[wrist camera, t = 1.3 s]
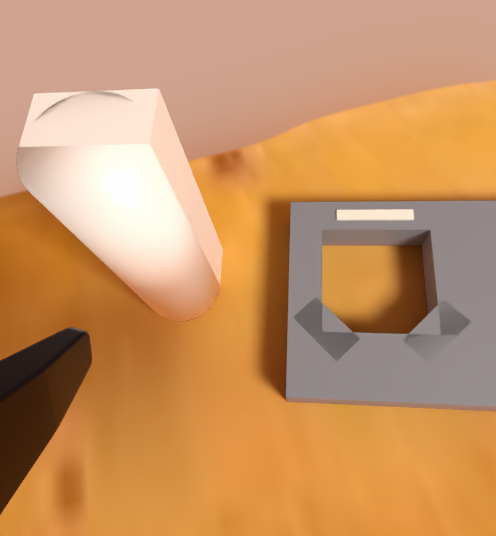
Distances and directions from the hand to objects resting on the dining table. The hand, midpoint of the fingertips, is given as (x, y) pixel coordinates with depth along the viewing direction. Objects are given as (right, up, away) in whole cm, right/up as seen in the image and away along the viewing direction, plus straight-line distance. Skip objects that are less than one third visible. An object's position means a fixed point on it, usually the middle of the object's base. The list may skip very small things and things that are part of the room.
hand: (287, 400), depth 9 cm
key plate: (+9, +1, +15) cm, 18 cm away
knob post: (-5, +2, +17) cm, 18 cm away
